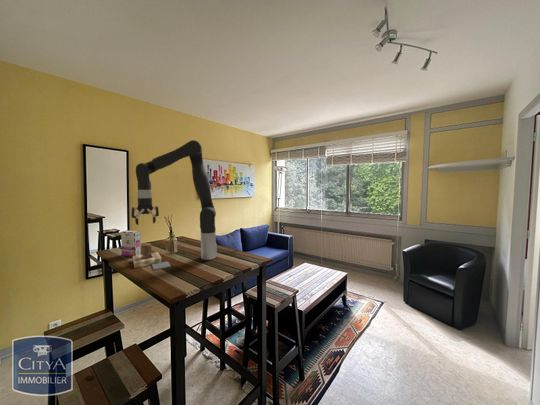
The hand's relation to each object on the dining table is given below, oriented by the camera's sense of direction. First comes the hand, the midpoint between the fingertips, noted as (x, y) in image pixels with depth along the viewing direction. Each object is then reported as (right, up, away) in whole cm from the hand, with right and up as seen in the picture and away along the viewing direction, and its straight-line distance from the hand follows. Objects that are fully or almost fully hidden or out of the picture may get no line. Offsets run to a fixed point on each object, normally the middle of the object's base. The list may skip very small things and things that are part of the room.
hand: (145, 223), depth 134 cm
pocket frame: (0, -24, +2) cm, 24 cm away
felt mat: (+11, -24, -4) cm, 27 cm away
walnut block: (0, -24, +2) cm, 24 cm away
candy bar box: (-17, -22, +13) cm, 31 cm away
